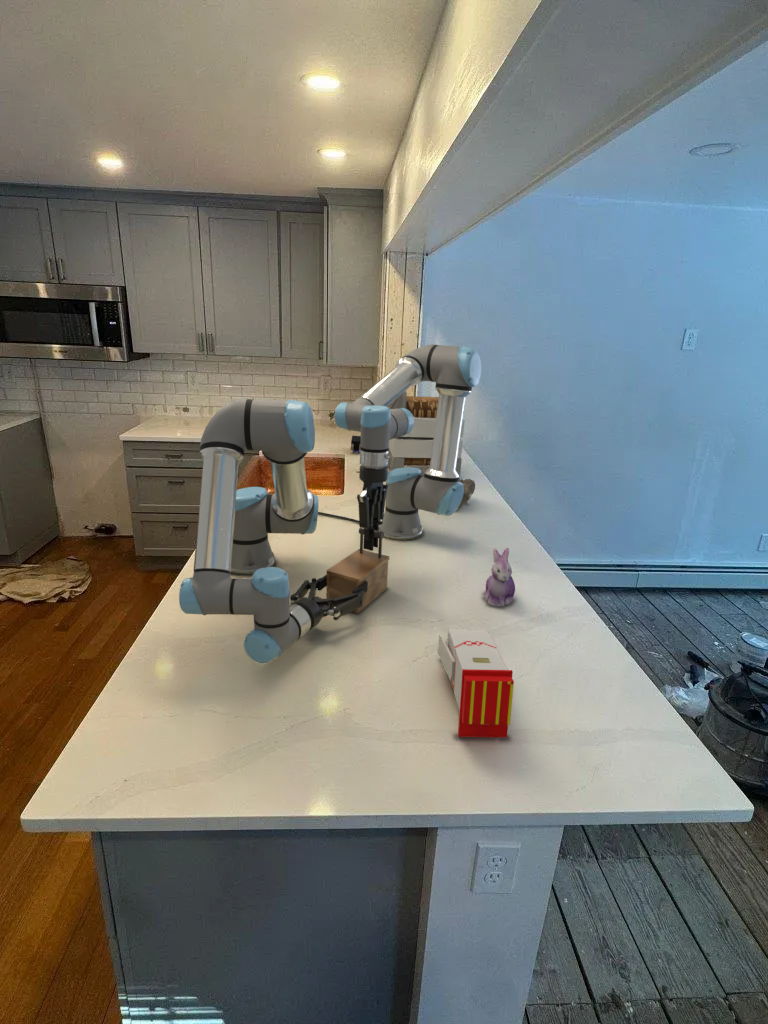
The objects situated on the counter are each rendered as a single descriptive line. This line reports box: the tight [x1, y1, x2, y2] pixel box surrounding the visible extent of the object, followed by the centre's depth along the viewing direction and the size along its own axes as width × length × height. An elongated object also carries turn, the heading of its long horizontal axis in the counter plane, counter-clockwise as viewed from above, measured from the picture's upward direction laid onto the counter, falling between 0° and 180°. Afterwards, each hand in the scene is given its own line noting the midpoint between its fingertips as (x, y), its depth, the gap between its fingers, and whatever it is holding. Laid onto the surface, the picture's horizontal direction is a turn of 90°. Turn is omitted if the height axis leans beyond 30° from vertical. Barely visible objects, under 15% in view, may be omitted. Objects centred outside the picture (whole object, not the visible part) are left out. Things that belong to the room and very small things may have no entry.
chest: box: [325, 560, 389, 614], centre depth 154 cm, size 16×10×9 cm, turn 152°
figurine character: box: [350, 435, 361, 455], centre depth 309 cm, size 7×8×15 cm
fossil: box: [457, 478, 476, 510], centre depth 232 cm, size 22×10×15 cm
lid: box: [326, 526, 390, 583], centre depth 152 cm, size 17×10×9 cm, turn 152°
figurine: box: [484, 547, 516, 607], centre depth 155 cm, size 9×10×15 cm
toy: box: [437, 628, 515, 738], centre depth 117 cm, size 12×13×30 cm
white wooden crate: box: [387, 390, 465, 480], centre depth 268 cm, size 34×33×41 cm
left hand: (348, 581), depth 149 cm, fingers closed on chest, 10 cm apart
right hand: (370, 547), depth 157 cm, fingers closed on lid, 2 cm apart
